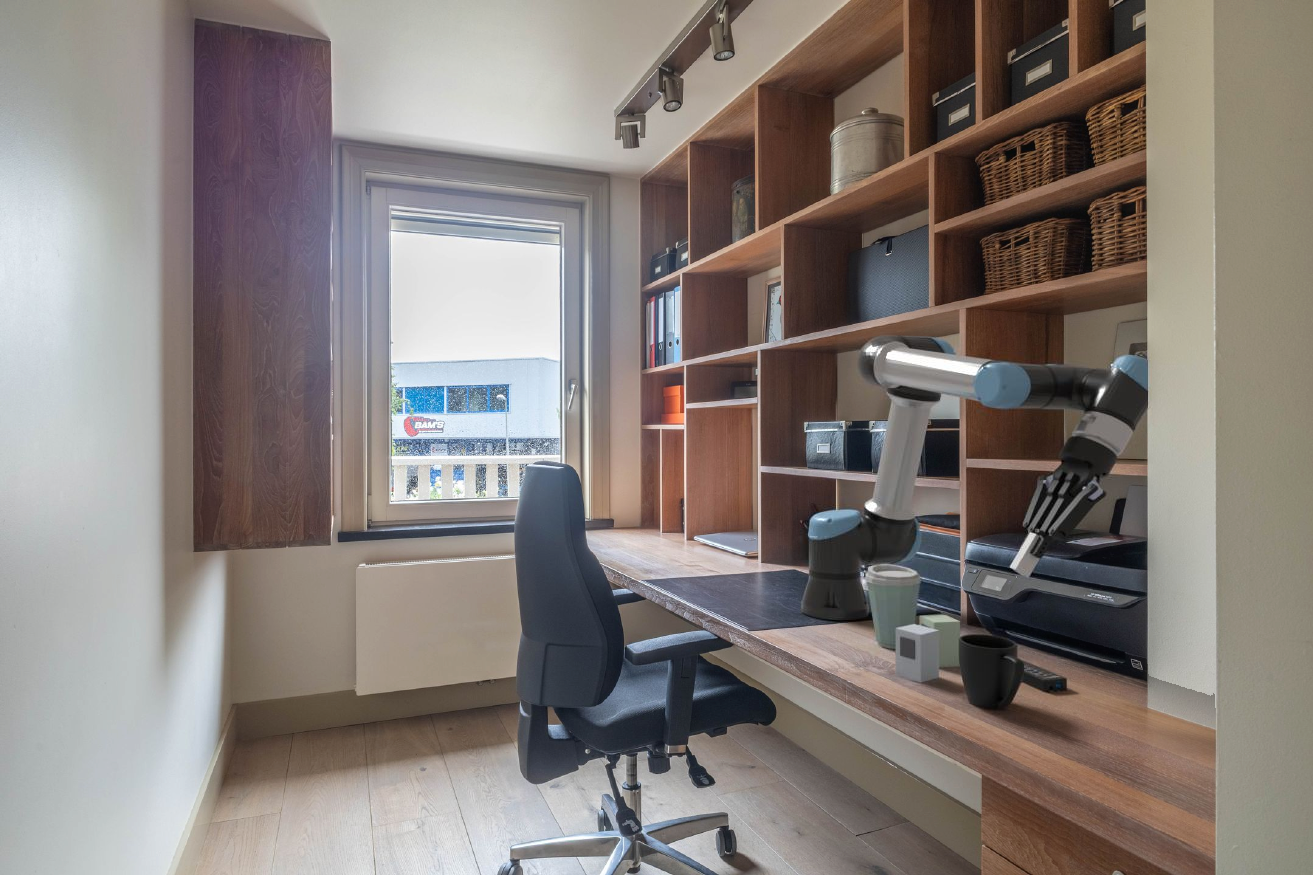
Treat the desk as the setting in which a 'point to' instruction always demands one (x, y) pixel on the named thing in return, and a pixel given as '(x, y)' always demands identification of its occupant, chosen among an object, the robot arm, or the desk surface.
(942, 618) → the block sage
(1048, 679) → the multiport hub
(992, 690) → the mug
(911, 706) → the desk surface
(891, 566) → the disposable coffee cup
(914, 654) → the block grey
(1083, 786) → the desk surface
